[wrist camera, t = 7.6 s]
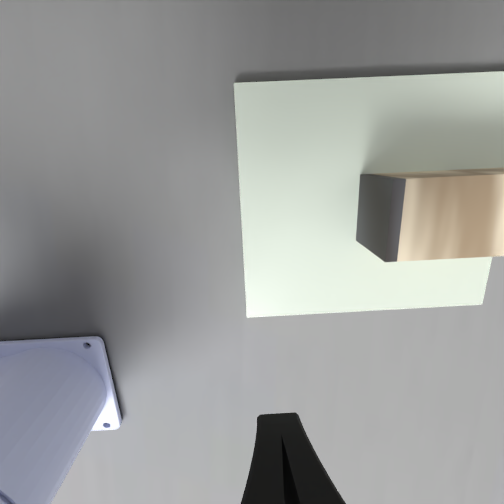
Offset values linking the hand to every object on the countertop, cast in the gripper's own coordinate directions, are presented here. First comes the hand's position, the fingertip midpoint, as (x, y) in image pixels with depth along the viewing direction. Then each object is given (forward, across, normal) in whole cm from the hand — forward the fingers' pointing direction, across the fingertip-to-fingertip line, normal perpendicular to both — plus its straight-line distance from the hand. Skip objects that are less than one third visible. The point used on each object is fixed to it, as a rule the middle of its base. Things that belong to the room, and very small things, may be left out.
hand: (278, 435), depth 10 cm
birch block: (+8, -6, -6) cm, 12 cm away
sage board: (+10, -7, -6) cm, 14 cm away
